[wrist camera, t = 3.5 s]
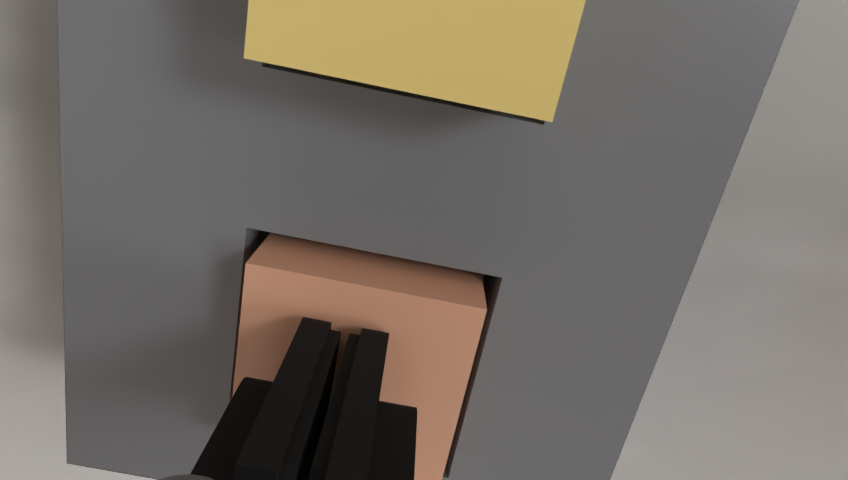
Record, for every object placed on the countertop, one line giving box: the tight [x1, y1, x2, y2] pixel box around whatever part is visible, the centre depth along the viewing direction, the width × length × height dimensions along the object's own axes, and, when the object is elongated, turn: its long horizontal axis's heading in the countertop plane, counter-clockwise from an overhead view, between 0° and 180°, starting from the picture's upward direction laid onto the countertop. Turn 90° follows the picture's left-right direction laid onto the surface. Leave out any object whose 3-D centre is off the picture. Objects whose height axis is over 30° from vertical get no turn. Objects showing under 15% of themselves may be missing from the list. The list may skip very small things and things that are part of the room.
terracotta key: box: [232, 233, 487, 480], centre depth 12 cm, size 4×4×2 cm
